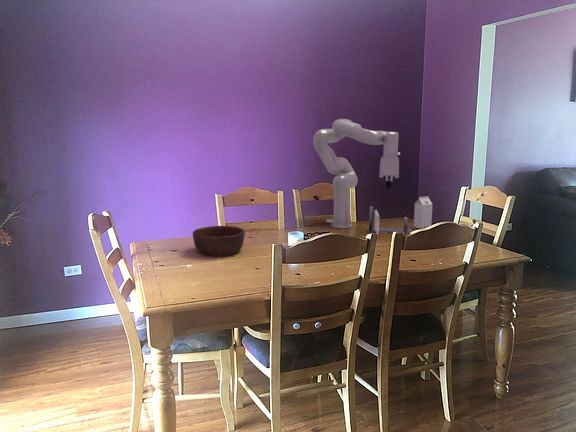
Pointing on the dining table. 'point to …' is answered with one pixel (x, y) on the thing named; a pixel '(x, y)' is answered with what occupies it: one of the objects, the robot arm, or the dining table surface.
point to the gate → (376, 221)
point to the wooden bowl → (218, 240)
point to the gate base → (388, 230)
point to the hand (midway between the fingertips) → (388, 188)
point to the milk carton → (423, 212)
